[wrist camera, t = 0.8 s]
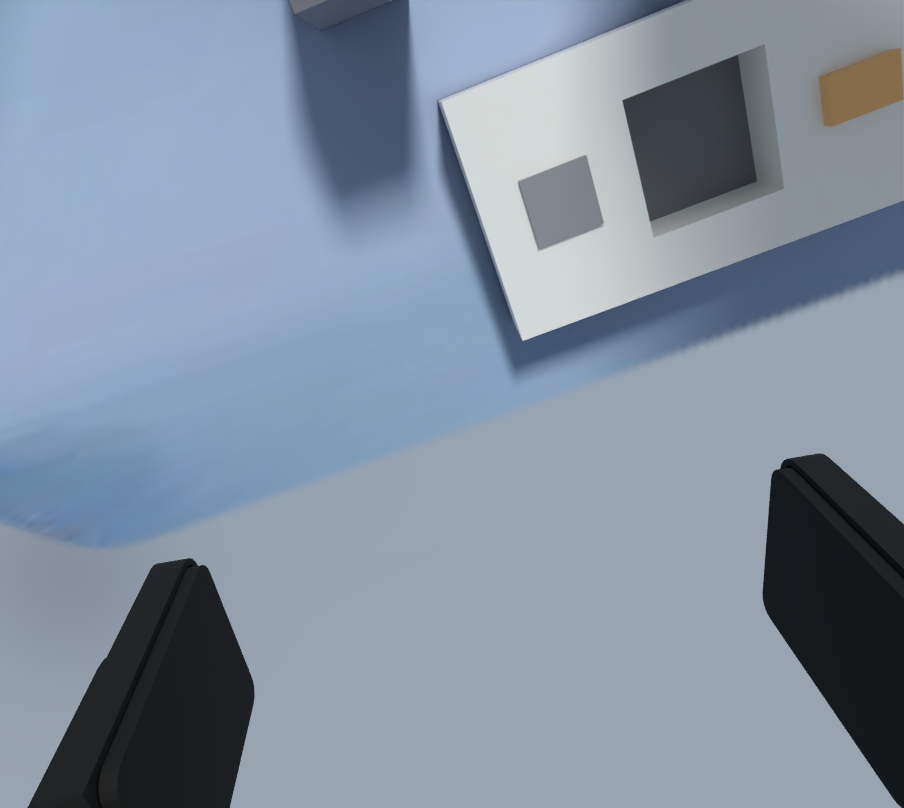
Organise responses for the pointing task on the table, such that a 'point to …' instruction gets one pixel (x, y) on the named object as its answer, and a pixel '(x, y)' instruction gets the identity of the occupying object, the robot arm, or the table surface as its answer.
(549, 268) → the switch panel
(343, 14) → the block
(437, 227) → the table surface
